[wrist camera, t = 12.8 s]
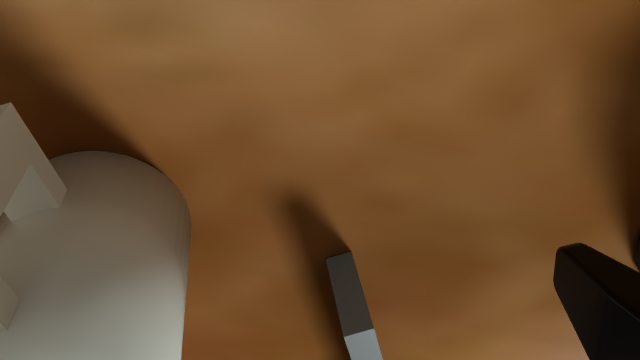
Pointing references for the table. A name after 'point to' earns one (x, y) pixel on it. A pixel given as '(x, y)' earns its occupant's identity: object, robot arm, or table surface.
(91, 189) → the jug
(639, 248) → the pen holder
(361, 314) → the frame
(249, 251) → the table surface
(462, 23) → the table surface
